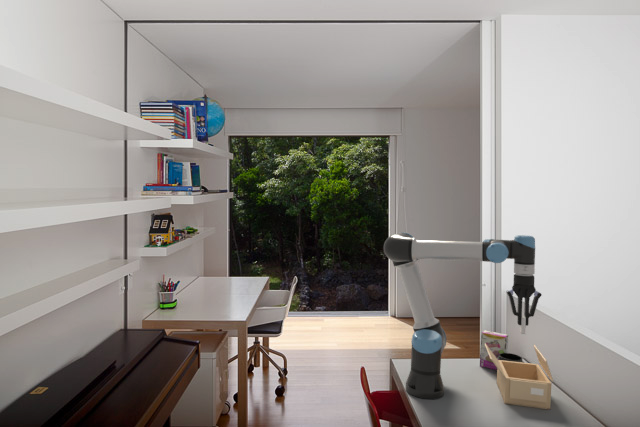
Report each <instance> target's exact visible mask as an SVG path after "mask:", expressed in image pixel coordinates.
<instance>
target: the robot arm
mask: <svg viewBox="0 0 640 427" xmlns="http://www.w3.org/2000/svg"><path fill="white" fill-rule="evenodd" d="M383 252H384V255H385V257H387V258H388V259H389V260H390V261H392V264H393V267H394V268H396V269H397V270H398V273H399V276H400V278H401V282H402V285H403V288H404V291H405V294H406V298H407V302H408V304H409V307H410V311H411V313H412V314H411V315H412V318H413V320H414V324H413V325H412V329H413V334H412V336H411V353H410V354H411V356H410V370H409V374H408V376H407V379H406V381H405V391H406V392H407V393H408V394H409V395H411V396H413V397H416V398H420V399H424V400H435V399H437V400H438V399H440V398H442V397H443V396H444V395H445V386H444V382H443V379H442V376H441V368H442V367H441V365H442V364H441V363H442V354H443V351H444V349H445V347H446V344H447V335H446V331H445V330H444V329H443V327H442V326H441V325H442V324H441V323H440V320H439V319H438V318H436V317H435V315H434V311H433V309H432V306H431V302H430V300H429V296H428V293H427V290H426V286H425V284H424V280H423V277H422V273H421V271H420V268H419V262H420V260H432V261H433V260H436V261H461V262H462V261H463V262H464V261H465V262H469V261H470V262H489V263H490V262H491V263H494V264H500V263H501V264H502V263H503V262H505V261H506V260H508V259H509V260H513V285H512V286H511V289H509V290H506V294H507V296H508V300H509V302H510V307H511V311H512V315H514V316H517V324H518V326H519V333H520V334H521V335H526V327H527V326H529V322H530V321H529V318H532V317H534V316H535V312H536V310H537V305H538V303H539V299H541V297H542V296H543V295H542V292H540V291H538V290H536V287H535V272H536V271H535V270H536V269H535V264H536V238H535V237H534V236H532V235H526V234H525V235H523V234H522V235H518V234H517V235H515V236H514V239H511V240H509V239H494V238H490V239H483V240H482V241H466V240H465V241H459V240H458V241H457V240H456V241H455V240H425V239H424V240H419V239H417V238H416V237H415V236H413V235H412V234H410V233H407V232H401V231H400V232H397V233H395V234H391V235H390V236H388V237H387V238H386V240H385V241H384V243H383ZM514 294H515V296H517V306H516V304H515V300H514V297H513V295H514ZM532 296H533V299H532V302H531V305H530V301H531V300H530V299H531V297H532ZM523 298H524V310H523ZM516 308H517V309H516ZM523 313H524V316H523Z"/></svg>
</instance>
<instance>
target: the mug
mask: <svg viewBox="0 0 640 427" xmlns="http://www.w3.org/2000/svg"><path fill="white" fill-rule="evenodd" d="M499 360H504V361H513V362H522V363H525V361H523V357H522V356H520V355H518V354H515V353H510V352H509V353H508V352H507V353H501V354H500V355H499Z"/></svg>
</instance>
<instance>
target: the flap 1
mask: <svg viewBox="0 0 640 427" xmlns="http://www.w3.org/2000/svg"><path fill="white" fill-rule="evenodd" d="M485 346H486V349H487V351H488V354H489V356H490V359H491V360H492V362H493V363H494V364H495V366H496V367H497V368H498V370H499V371H500V372H501V374H502V375H503V376H505V375H504V373H503V371H502V368H501V366H500V364H499V362H498V359H497V358H496V357H495V355H494V354H493V353H492V351H491V350H490V349H489V347H488V346H487V345H486V343H485Z"/></svg>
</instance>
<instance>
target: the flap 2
mask: <svg viewBox="0 0 640 427" xmlns="http://www.w3.org/2000/svg"><path fill="white" fill-rule="evenodd" d="M533 348H534V351H535V354H536V357H537V361H538V362H539V363H538V364H539V366H540V367H541V369H542V370H543V372H544V373H545V375H546V376H547V377H548V379H549V380H550V382H551V383H552V382H554V379H553V375H552V373H551V370H550V366H549V364H548V360H547V359H546V358H545V357H544V355H543V354H542V353H541V350H539V349H538V348H537V345H535V344H534V345H533Z"/></svg>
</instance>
